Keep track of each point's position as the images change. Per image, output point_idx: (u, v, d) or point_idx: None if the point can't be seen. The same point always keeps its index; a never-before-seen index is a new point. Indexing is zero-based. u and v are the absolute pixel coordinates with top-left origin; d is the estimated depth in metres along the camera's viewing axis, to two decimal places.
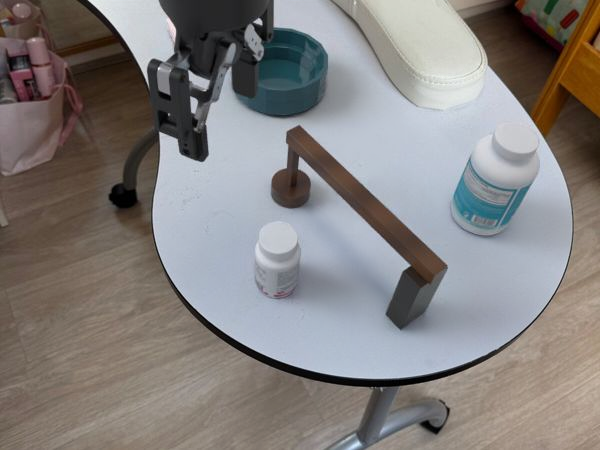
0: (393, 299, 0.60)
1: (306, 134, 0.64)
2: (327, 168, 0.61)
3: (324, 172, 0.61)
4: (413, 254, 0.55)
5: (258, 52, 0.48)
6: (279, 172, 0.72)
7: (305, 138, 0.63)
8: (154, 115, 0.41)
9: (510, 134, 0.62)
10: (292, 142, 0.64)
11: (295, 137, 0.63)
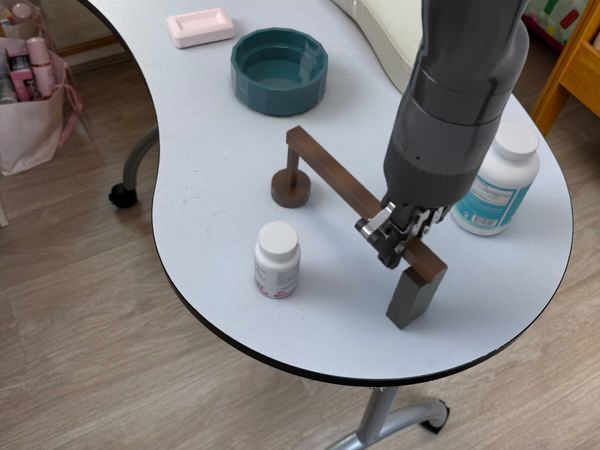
0: (393, 299, 0.60)
1: (306, 134, 0.63)
2: (326, 168, 0.61)
3: (323, 172, 0.61)
4: (413, 254, 0.55)
5: (427, 228, 0.56)
6: (279, 172, 0.72)
7: (305, 138, 0.63)
8: None
9: (510, 134, 0.62)
10: (292, 142, 0.64)
11: (295, 137, 0.63)
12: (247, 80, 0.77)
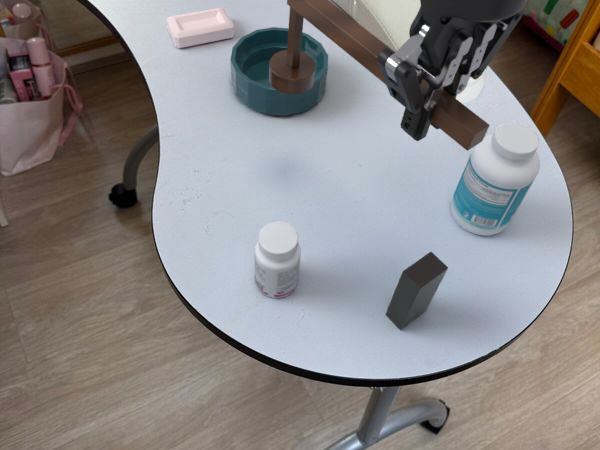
0: (393, 299, 0.60)
1: None
2: (337, 23, 0.50)
3: (333, 29, 0.51)
4: (446, 113, 0.45)
5: (463, 82, 0.45)
6: (278, 54, 0.61)
7: None
8: (388, 88, 0.43)
9: (510, 134, 0.62)
10: (295, 0, 0.53)
11: None
12: (247, 80, 0.77)
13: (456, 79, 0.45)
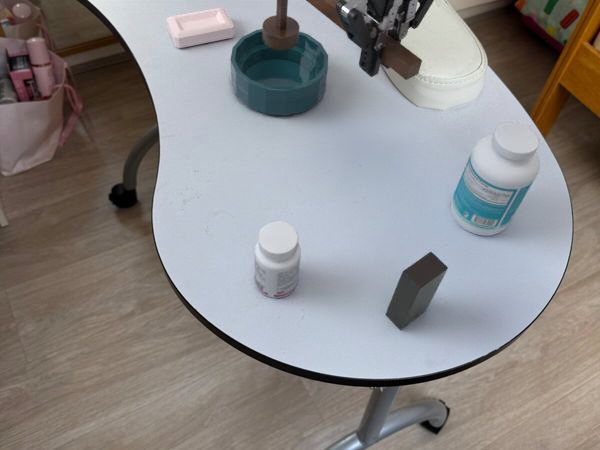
0: (393, 299, 0.60)
1: None
2: None
3: None
4: (390, 51, 0.60)
5: (403, 30, 0.61)
6: (270, 18, 0.77)
7: None
8: (346, 32, 0.59)
9: (510, 134, 0.62)
10: None
11: None
12: (247, 80, 0.77)
13: (398, 27, 0.60)
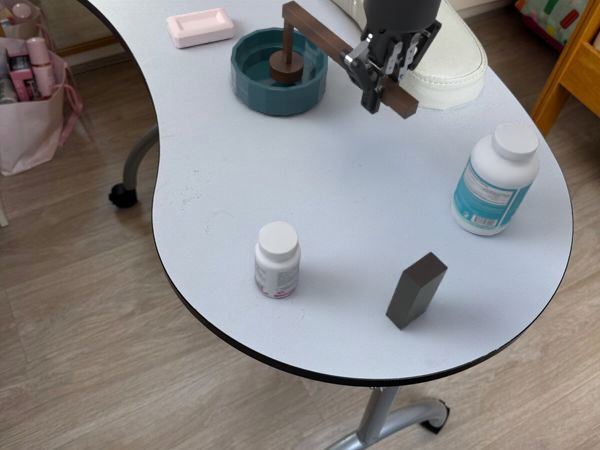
0: (393, 299, 0.60)
1: (299, 7, 0.73)
2: (317, 31, 0.71)
3: (314, 35, 0.71)
4: (390, 93, 0.65)
5: (402, 73, 0.66)
6: (276, 53, 0.81)
7: (298, 10, 0.73)
8: (349, 76, 0.63)
9: (510, 134, 0.62)
10: (287, 14, 0.73)
11: (290, 9, 0.73)
12: (247, 80, 0.77)
13: (397, 70, 0.65)
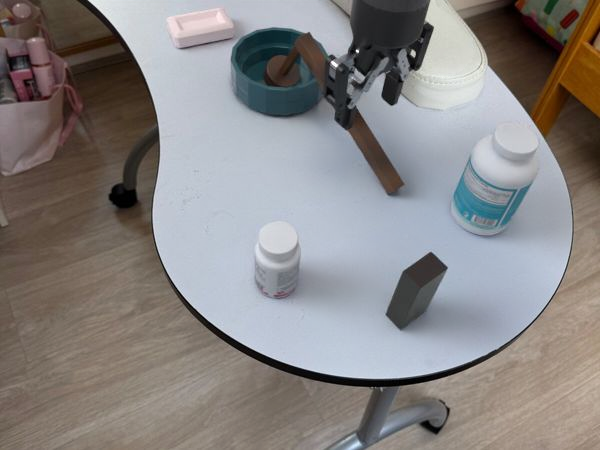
0: (393, 299, 0.60)
1: (314, 43, 0.73)
2: None
3: None
4: (382, 171, 0.72)
5: (404, 74, 0.67)
6: (274, 58, 0.81)
7: (313, 47, 0.73)
8: (324, 88, 0.63)
9: (510, 134, 0.62)
10: (301, 47, 0.73)
11: (305, 44, 0.72)
12: (247, 80, 0.77)
13: None
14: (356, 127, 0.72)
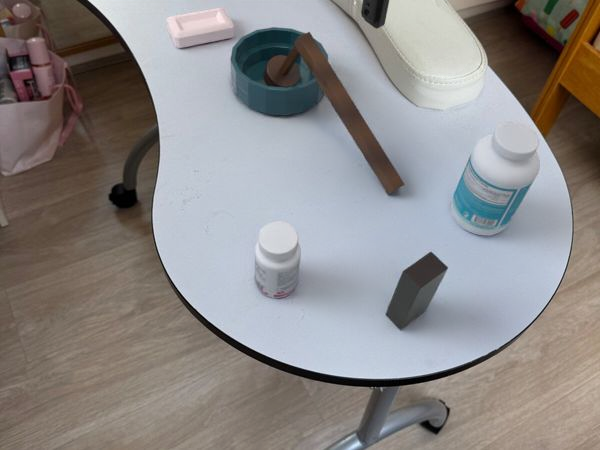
0: (393, 299, 0.60)
1: (314, 43, 0.73)
2: (328, 81, 0.72)
3: (324, 83, 0.73)
4: (382, 171, 0.72)
5: None
6: (274, 58, 0.81)
7: (313, 47, 0.73)
8: None
9: (510, 134, 0.62)
10: (301, 47, 0.73)
11: (305, 44, 0.72)
12: (247, 80, 0.77)
13: None
14: (356, 127, 0.72)
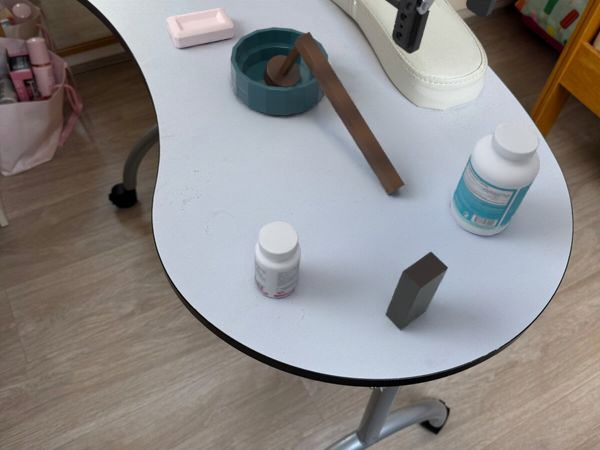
0: (393, 299, 0.60)
1: (314, 43, 0.73)
2: (328, 81, 0.72)
3: (324, 83, 0.73)
4: (382, 171, 0.72)
5: None
6: (274, 58, 0.81)
7: (313, 47, 0.73)
8: None
9: (510, 134, 0.62)
10: (301, 47, 0.73)
11: (305, 44, 0.72)
12: (247, 80, 0.77)
13: None
14: (356, 127, 0.72)
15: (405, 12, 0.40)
